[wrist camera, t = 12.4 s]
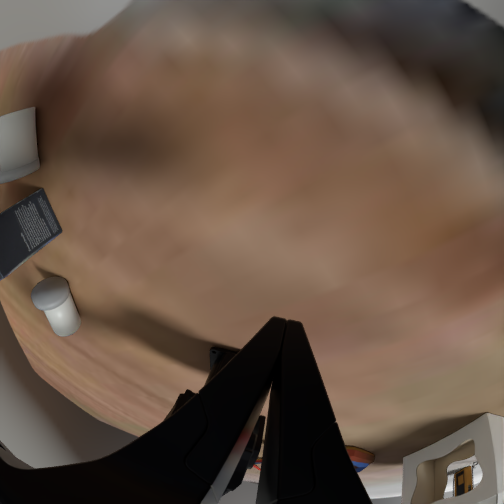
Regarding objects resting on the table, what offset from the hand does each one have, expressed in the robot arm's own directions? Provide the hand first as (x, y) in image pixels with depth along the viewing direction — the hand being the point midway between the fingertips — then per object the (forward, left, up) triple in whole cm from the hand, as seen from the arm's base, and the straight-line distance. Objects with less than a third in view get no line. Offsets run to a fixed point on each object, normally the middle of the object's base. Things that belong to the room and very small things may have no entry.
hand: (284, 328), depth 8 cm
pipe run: (-8, +30, -13) cm, 34 cm away
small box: (-8, +32, -13) cm, 36 cm away
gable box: (-41, -43, -13) cm, 61 cm away
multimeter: (-72, -77, -13) cm, 106 cm away
